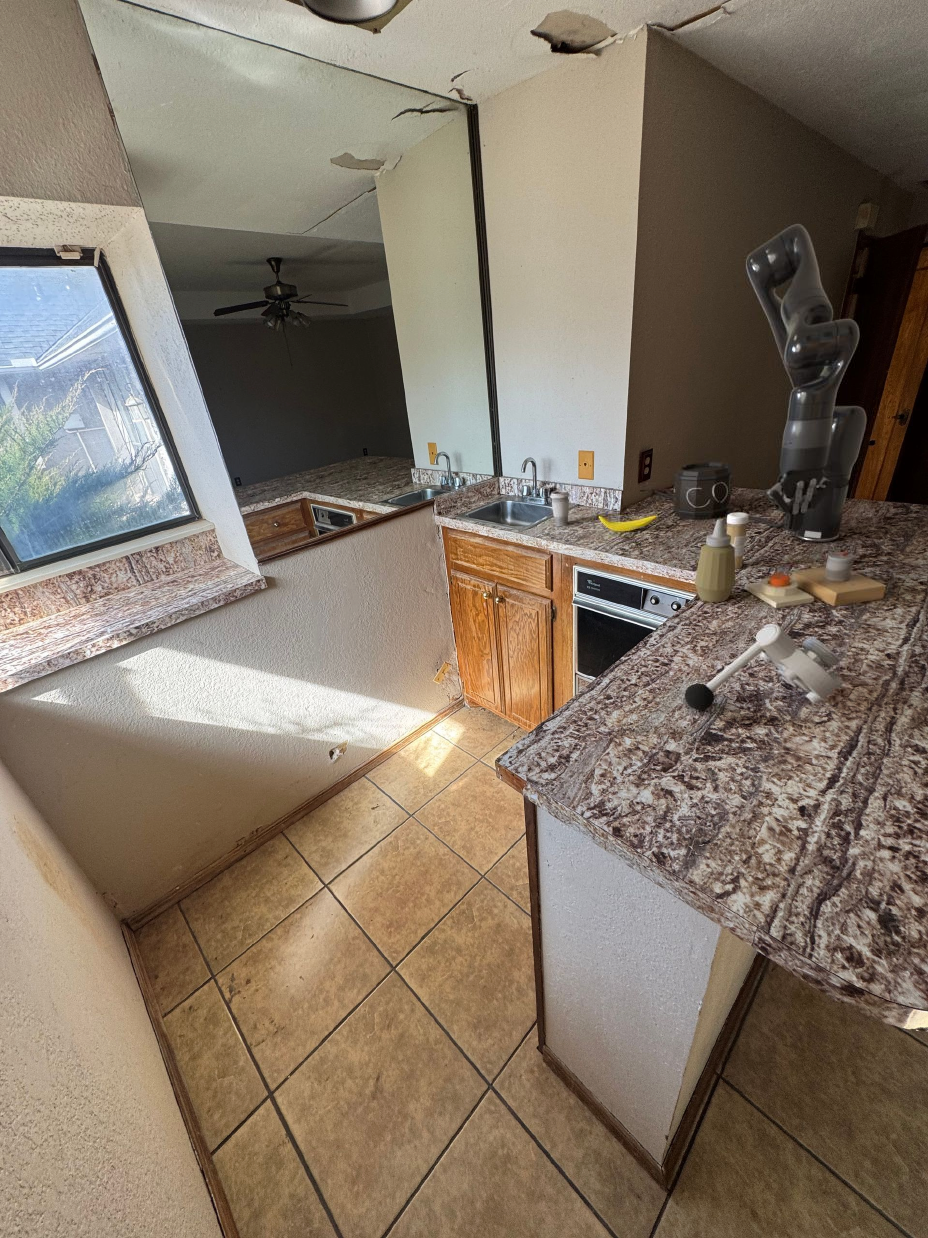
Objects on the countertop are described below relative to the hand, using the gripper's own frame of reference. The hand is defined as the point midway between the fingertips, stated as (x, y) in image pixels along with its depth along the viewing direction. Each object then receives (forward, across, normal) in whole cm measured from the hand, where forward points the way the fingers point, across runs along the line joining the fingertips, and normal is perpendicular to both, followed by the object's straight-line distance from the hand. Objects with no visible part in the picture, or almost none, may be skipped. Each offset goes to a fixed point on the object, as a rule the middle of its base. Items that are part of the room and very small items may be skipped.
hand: (792, 530), depth 99 cm
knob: (+11, +9, -2) cm, 15 cm away
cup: (+14, -29, +80) cm, 86 cm away
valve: (+14, -27, -33) cm, 45 cm away
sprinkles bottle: (+15, 0, +19) cm, 24 cm away
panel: (+14, +9, -2) cm, 17 cm away
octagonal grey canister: (+15, +17, +66) cm, 70 cm away
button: (+12, -2, 0) cm, 12 cm away
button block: (+14, -2, 0) cm, 14 cm away
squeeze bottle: (+14, -14, +3) cm, 20 cm away
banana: (+14, -12, +60) cm, 63 cm away
